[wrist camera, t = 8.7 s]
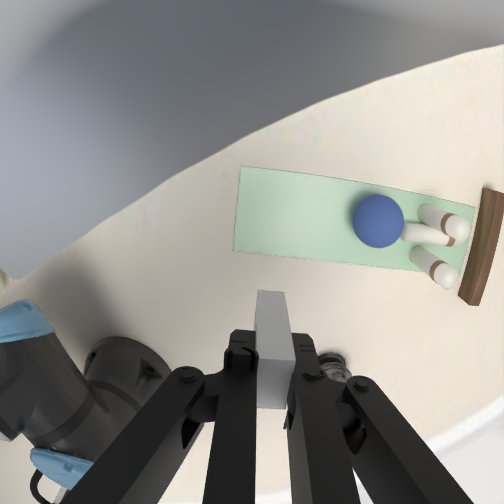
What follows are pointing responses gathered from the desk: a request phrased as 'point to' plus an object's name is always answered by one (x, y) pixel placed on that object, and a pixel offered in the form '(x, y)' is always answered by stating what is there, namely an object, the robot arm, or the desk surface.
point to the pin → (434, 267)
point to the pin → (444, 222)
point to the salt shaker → (334, 367)
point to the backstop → (482, 247)
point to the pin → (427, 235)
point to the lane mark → (327, 220)
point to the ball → (378, 221)
